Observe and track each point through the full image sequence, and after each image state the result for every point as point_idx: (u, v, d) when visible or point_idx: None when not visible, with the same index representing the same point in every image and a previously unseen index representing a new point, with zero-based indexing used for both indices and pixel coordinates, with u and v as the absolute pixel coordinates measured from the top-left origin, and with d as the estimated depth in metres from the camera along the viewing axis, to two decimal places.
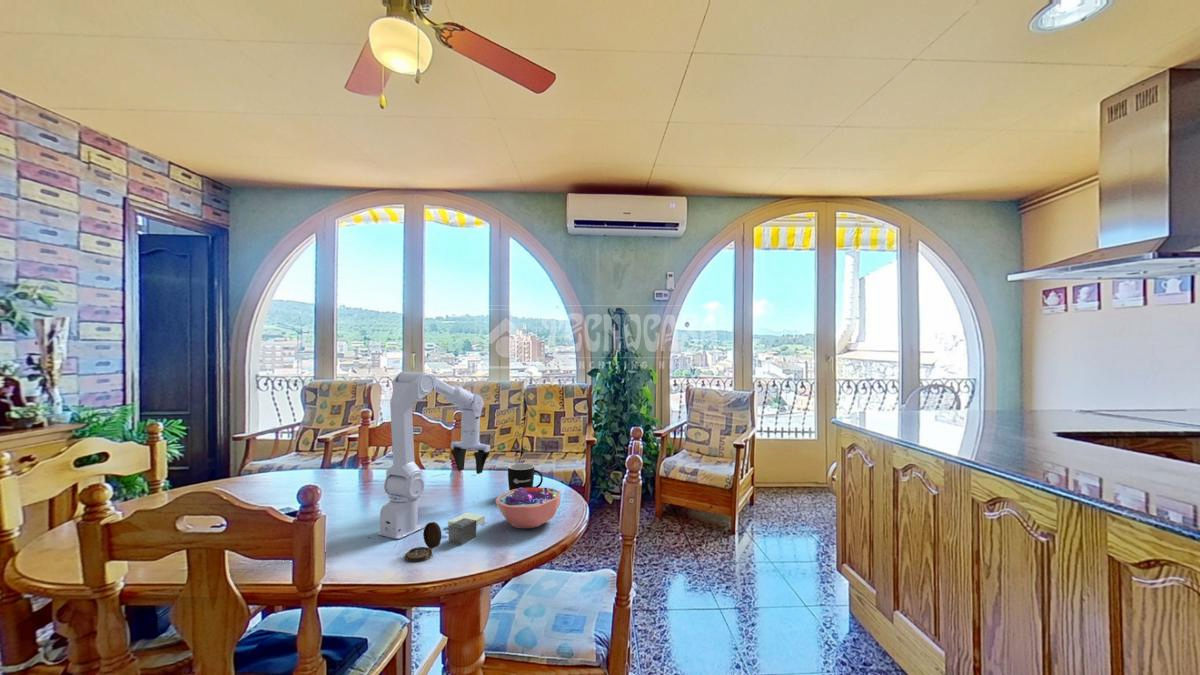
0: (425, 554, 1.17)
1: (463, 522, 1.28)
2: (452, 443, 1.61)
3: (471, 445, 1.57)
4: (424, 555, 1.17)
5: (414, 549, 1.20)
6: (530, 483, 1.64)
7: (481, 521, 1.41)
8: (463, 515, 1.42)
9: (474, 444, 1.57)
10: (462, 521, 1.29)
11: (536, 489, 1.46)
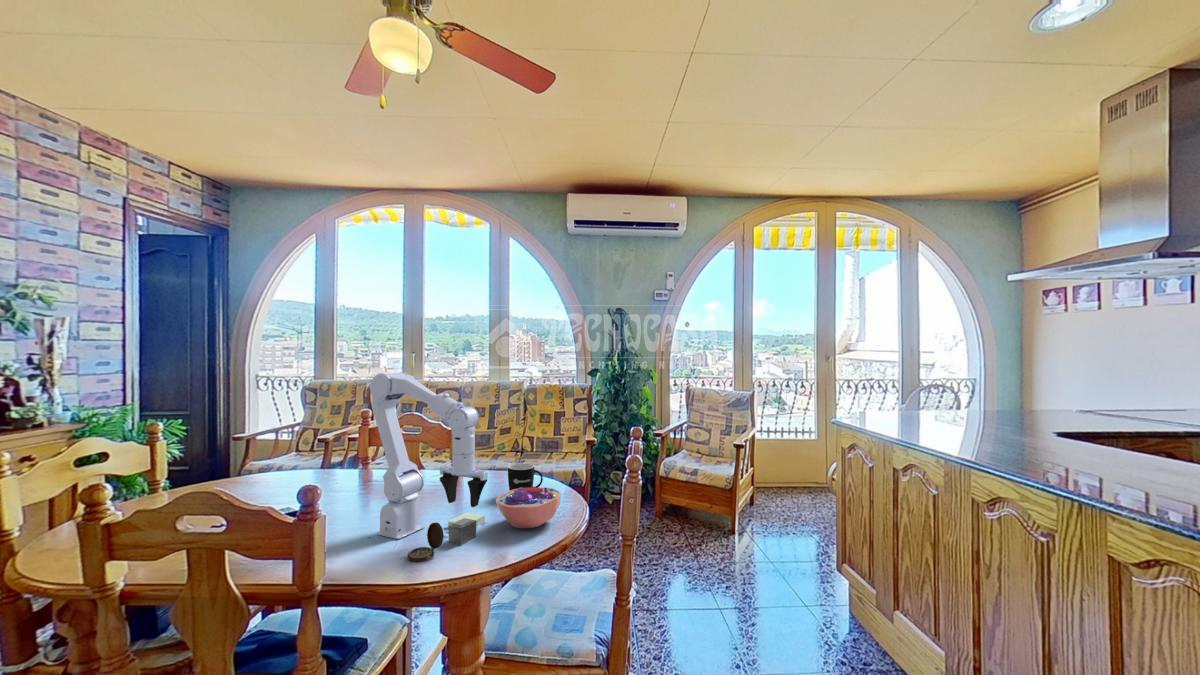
0: (426, 555, 1.17)
1: (463, 522, 1.28)
2: (441, 468, 1.31)
3: (464, 472, 1.26)
4: (426, 555, 1.17)
5: (417, 549, 1.20)
6: (530, 483, 1.64)
7: (481, 521, 1.41)
8: (463, 515, 1.42)
9: (468, 470, 1.27)
10: (462, 521, 1.29)
11: (536, 489, 1.46)
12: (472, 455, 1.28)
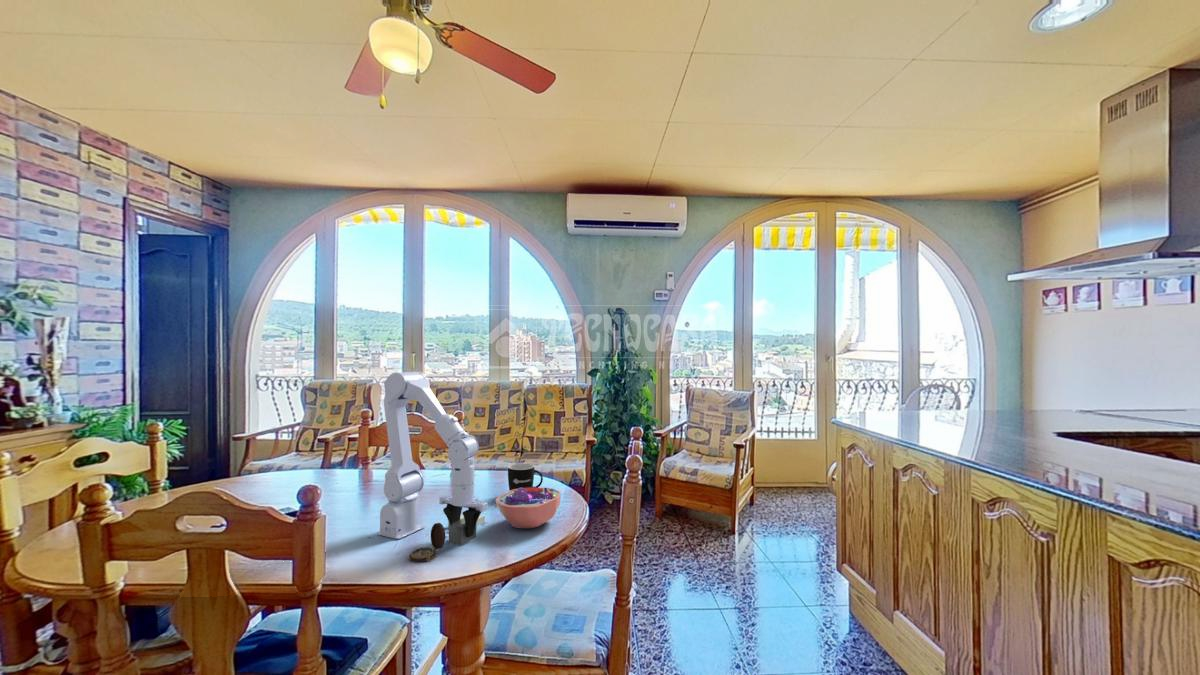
0: (427, 555, 1.16)
1: (463, 522, 1.28)
2: (441, 498, 1.31)
3: (464, 503, 1.26)
4: (426, 556, 1.16)
5: (420, 549, 1.20)
6: (530, 483, 1.64)
7: (481, 521, 1.41)
8: None
9: (467, 501, 1.27)
10: (462, 521, 1.29)
11: (536, 489, 1.46)
12: (472, 486, 1.28)
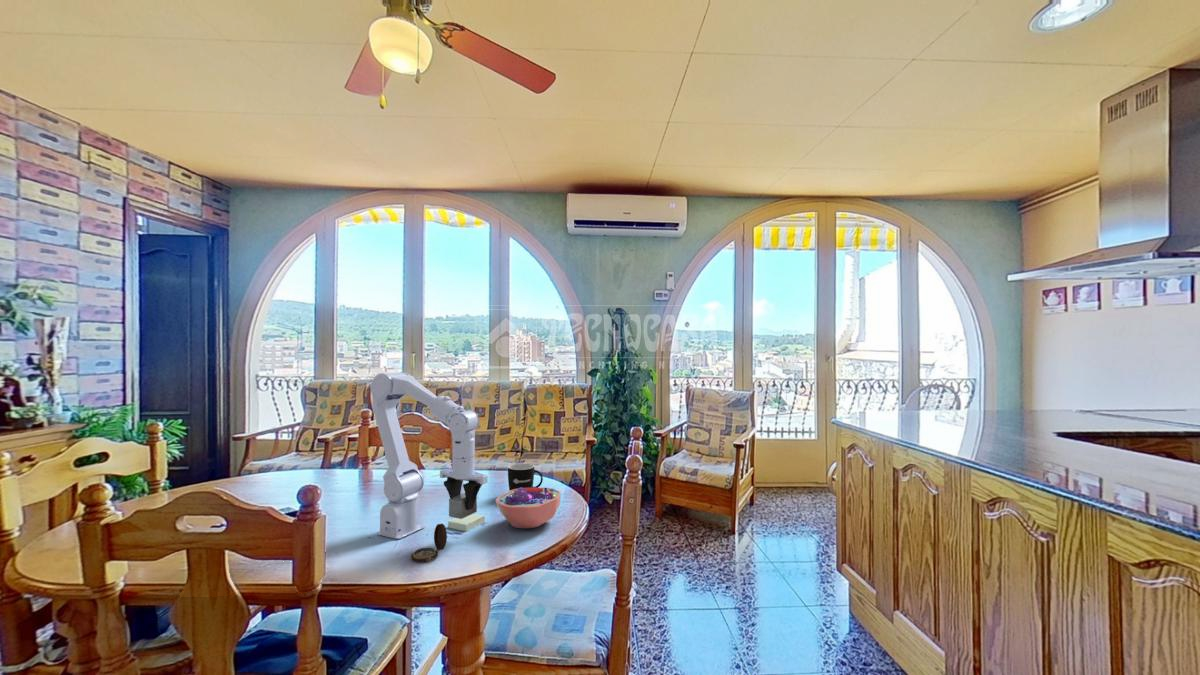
0: (428, 556, 1.16)
1: (463, 496, 1.29)
2: (441, 472, 1.31)
3: (464, 475, 1.27)
4: (427, 557, 1.16)
5: (422, 549, 1.20)
6: (530, 483, 1.64)
7: (481, 521, 1.41)
8: None
9: (468, 474, 1.27)
10: (462, 495, 1.30)
11: (536, 489, 1.46)
12: (472, 459, 1.28)
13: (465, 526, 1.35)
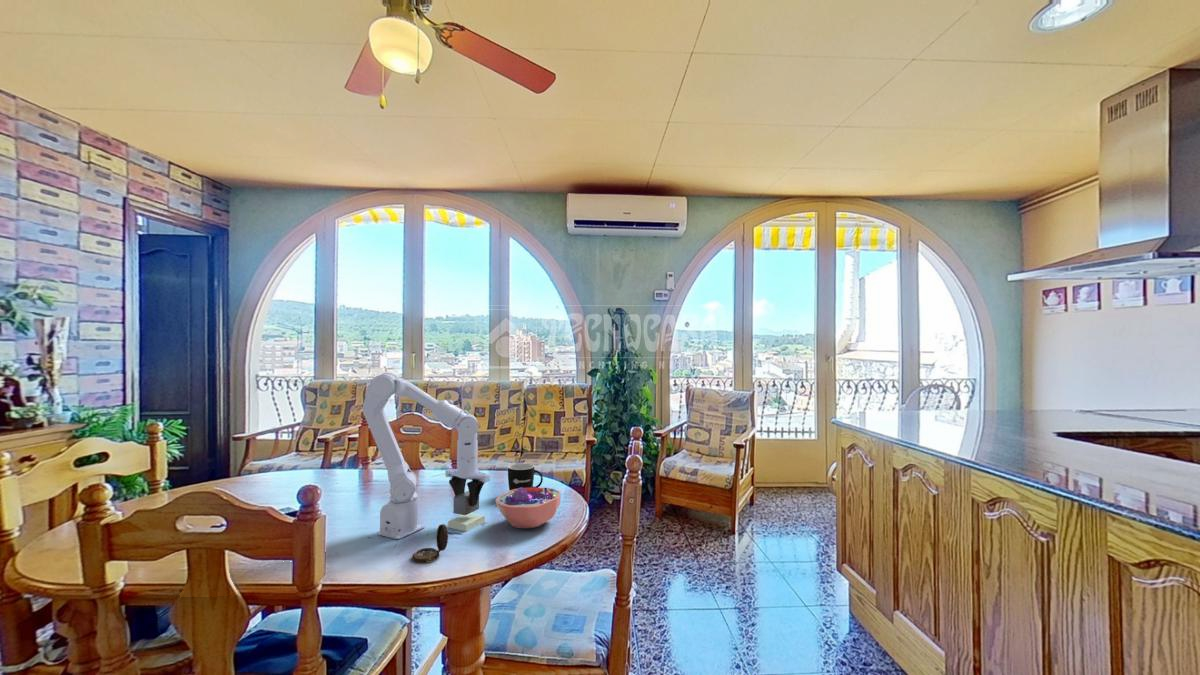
0: (428, 556, 1.16)
1: (467, 494, 1.39)
2: (446, 471, 1.42)
3: (468, 474, 1.37)
4: (428, 557, 1.16)
5: (424, 549, 1.20)
6: (530, 483, 1.64)
7: (481, 521, 1.41)
8: (463, 515, 1.42)
9: (471, 473, 1.38)
10: (466, 493, 1.40)
11: (536, 489, 1.46)
12: (475, 459, 1.39)
13: (465, 526, 1.35)
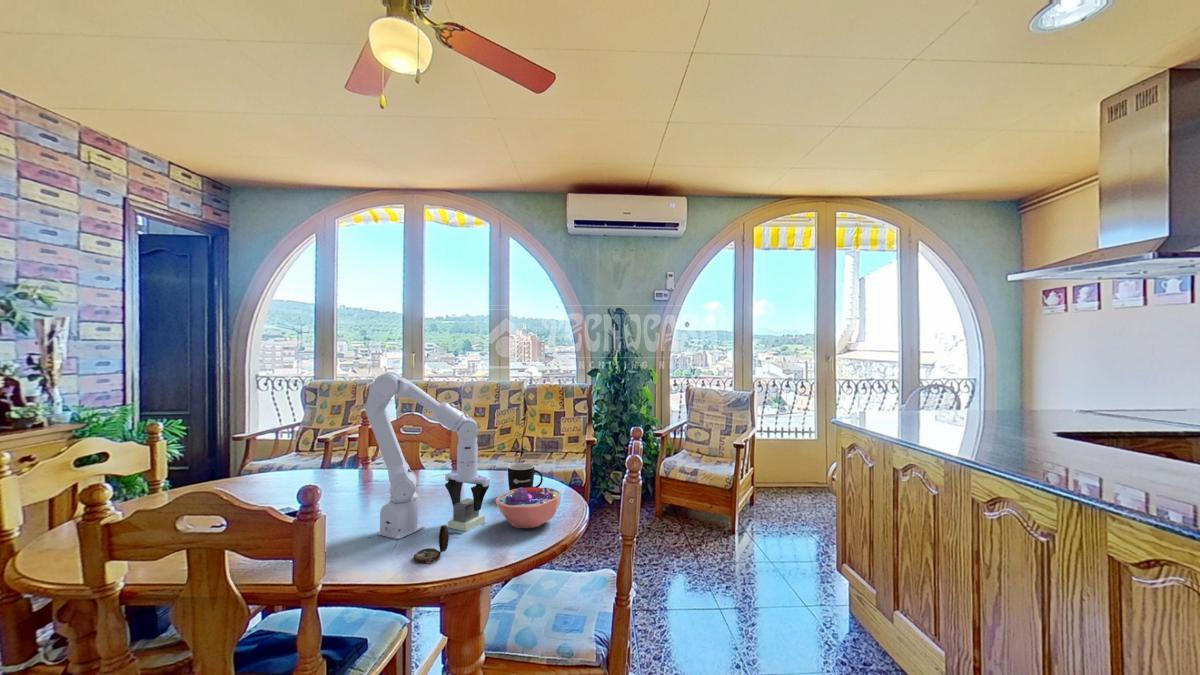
0: (429, 557, 1.16)
1: (467, 501, 1.39)
2: (446, 475, 1.42)
3: (468, 478, 1.37)
4: (428, 558, 1.15)
5: (426, 549, 1.20)
6: (530, 483, 1.64)
7: (481, 521, 1.41)
8: None
9: (471, 477, 1.38)
10: (466, 501, 1.40)
11: (536, 489, 1.46)
12: (475, 463, 1.39)
13: (465, 526, 1.35)
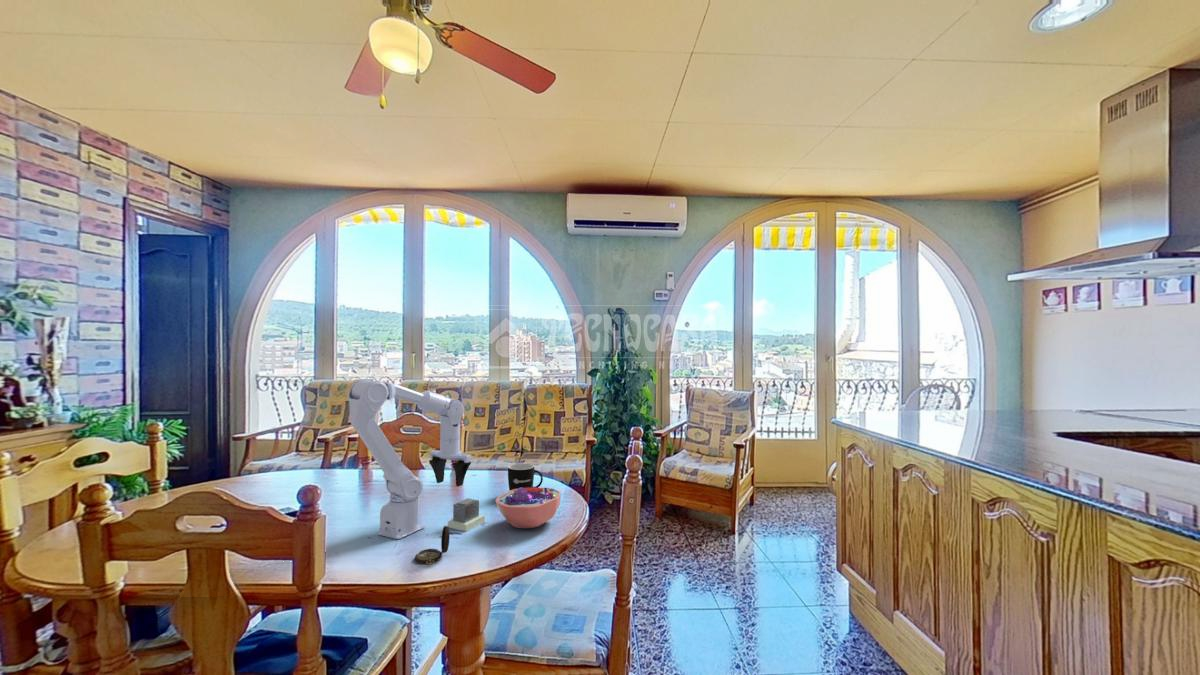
0: (429, 558, 1.15)
1: (467, 501, 1.39)
2: (431, 452, 1.48)
3: (450, 455, 1.43)
4: (428, 558, 1.15)
5: (429, 550, 1.20)
6: (530, 483, 1.64)
7: (481, 521, 1.41)
8: None
9: (454, 454, 1.44)
10: (466, 501, 1.40)
11: (536, 489, 1.46)
12: (457, 440, 1.45)
13: (465, 526, 1.35)
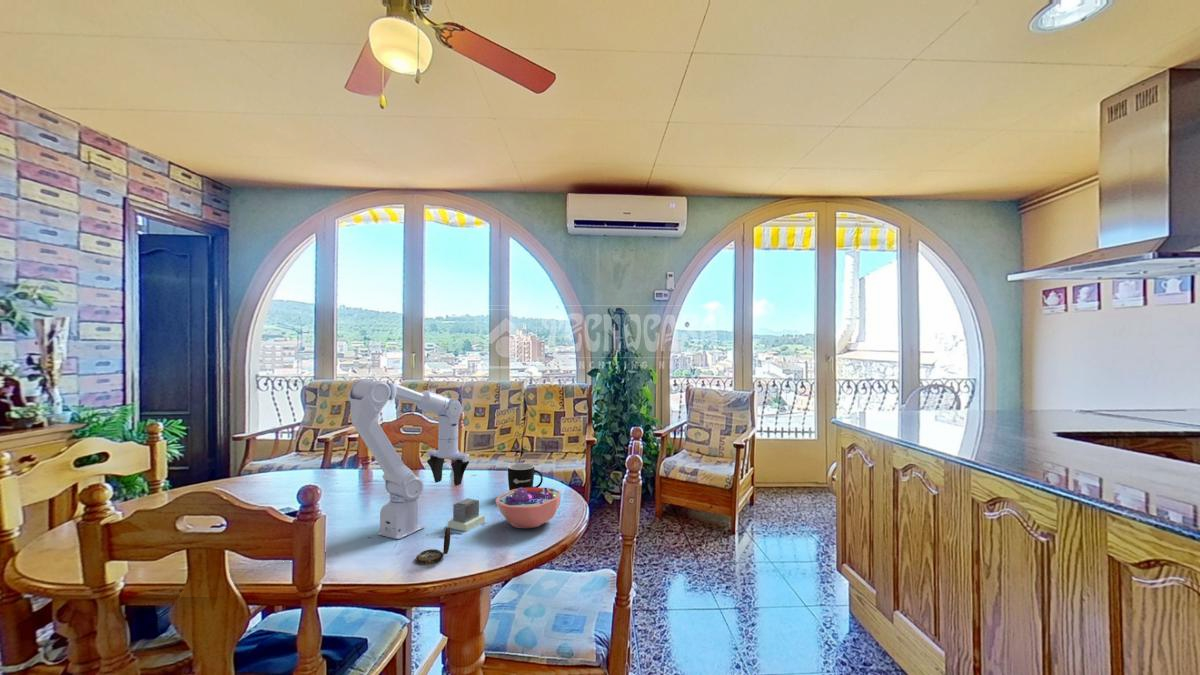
0: (429, 558, 1.15)
1: (467, 501, 1.39)
2: (429, 452, 1.48)
3: (448, 454, 1.44)
4: (429, 559, 1.15)
5: (431, 550, 1.19)
6: (530, 483, 1.64)
7: (481, 521, 1.41)
8: None
9: (452, 453, 1.44)
10: (466, 501, 1.40)
11: (536, 489, 1.46)
12: (456, 440, 1.46)
13: (465, 526, 1.35)
